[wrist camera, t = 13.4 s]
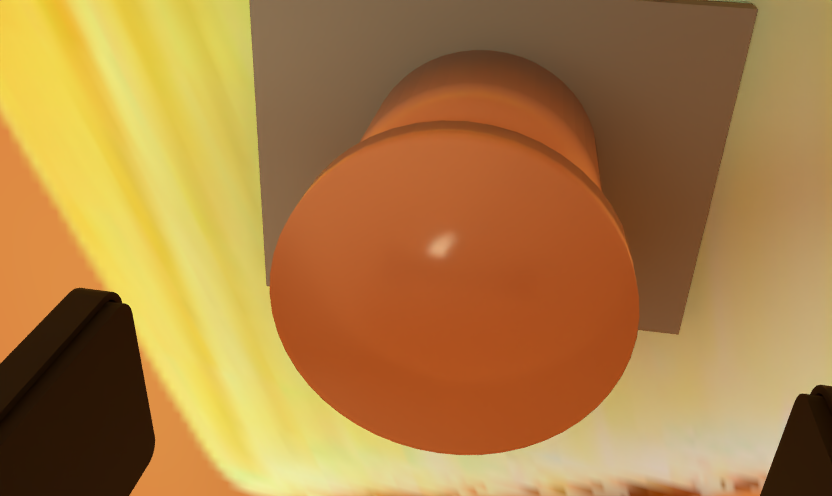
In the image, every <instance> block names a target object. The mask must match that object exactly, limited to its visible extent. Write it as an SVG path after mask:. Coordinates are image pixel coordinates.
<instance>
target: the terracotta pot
mask: <svg viewBox="0 0 832 496" xmlns="http://www.w3.org/2000/svg"><path fill="white" fill-rule="evenodd" d="M270 299H271V307H272V314H273V317H274V321H275V324H276V328H277V332H278V334H279V337H280V339H281V341H282V344H283V346H284V348H285V350H286V352H287V354H288V356H289V357H290V359H291V361H292V362H293V364H294V366H295V367H296V369H297V370H298V372H299V373H300V374H301V375H302V377H303V378H304V379H305V381H306V382H307V383H308V385H309V386H310V387H311V388H312V389H313V390H314V391H315V392H316V393H317V394H318V395H319V396H320V397H321V398H322V399H323V400H324V401H325V402H327V403H328V404H329V405H330V406H331V407H333V408H334V409H335V410H336V411H338V412H339V413H340V414H342V415H343V416H345V417H346V418H348V419H349V420H351V421H352V422H354V423H355V424H357V425H359V426H361V427H362V428H364V429H366V430H368V431H370V432H372V433H374V434H376V435H378V436H381V437H383V438H386V439H388V440H391V441H393V442H396V443H399V444H402V445H406V446H409V447H412V448H416V449H420V450H426V451H431V452H436V453H445V454H456V455H483V454H492V453H501V452H506V451H511V450H515V449H520V448H524V447H527V446H530V445H533V444H536V443H539V442H542V441H545V440H547V439H549V438H551V437H553V436H555V435H557V434H560V433H562V432H564V431H565V430H567V429H568V428H570V427H572V426H573V425H575V424H576V423H578V422H579V421H581V420H582V419H583V418H585V417H586V416H587V415H588V414H589V413H591V412H592V411H593V410H594V409H595V408H597V407H598V405H599V404H600V403H601V402H602V401H603V400H604V399H605V398H606V397H607V396H608V395H609V393H610V392H611V391H612V389H613V388H614V386H615V385H616V384H617V382H618V381H619V379H620V378H621V376H622V374H623V372H624V370H625V368H626V366H627V364H628V362H629V360H630V358H631V355H632V351H633V348H634V345H635V341H636V338H637V331H638V323H639V294H638V288H637V282H636V276H635V271H634V265H633V260H632V254H631V249H630V245H629V242H628V239H627V237H626V234H625V231H624V228H623V225H622V224H621V222H620V220H619V218H618V216H617V214H616V212H615V210H614V209H613V207H612V205H611V204H610V202H609V201H608V200H607V198H606V197H605V196H604V194H603V193H602V185H601V177H600V168H599V160H598V152H597V145H596V140H595V135H594V131H593V128H592V125H591V122H590V120H589V117H588V115H587V114H586V112H585V110H584V108H583V106H582V104H581V103H580V102H579V100H578V99H577V97H576V96H575V95H574V93H573V92H572V91H571V90H570V89H569V88H568V87H567V86H566V85H565V84H564V83H563V81H561V80H560V79H559V78H558V77H556V76H555V75H554V74H553V73H551V72H550V71H548V70H547V69H545V68H543V67H542V66H540V65H538V64H537V63H534V62H532V61H530V60H527V59H525V58H523V57H520V56H516V55H513V54H509V53H505V52H498V51H492V50H470V51H461V52H456V53H452V54H448V55H444V56H441V57H438V58H436V59H433V60H431V61H428V62H427V63H425V64H423V65H421V66H420V67H418V68H416V69H415V70H413V71H412V72H411V73H409V74H408V75H407V76H405V77H404V78H403V79H402V80H401V81H400V82H399V83H398V84H397V85H396V86H395V87H394V88H393V89H392V90H391V92H390V93H389V94H388V96H387V97H386V98H385V100H384V101H383V103H382V105H381V106H380V108H379V110H378V111H377V113H376V115H375V117H374V118H373V120H372V122H371V123H370V125H369V127H368V128H367V130H366V132H365V134H364V135H363V137H362V139H361V140H360V142H359V143H358V144H356V145H354V146H352V147H351V148H349V149H348V150H347V151H345V152H344V153H342V154H341V155H340V156H338V157H337V158H336V159H334V160H333V161H332V162H331V163H330V164H329V165H328V166H327V167H326V168H325V169H324V170H323V171H322V172H321V173H320V174H319V175H318V176H317V177H316V179H315V180H314V181H313V183H312V184H311V185H310V187H309V188H308V189H307V191H306V192H305V194H304V195H303V197H302V198H301V200H300V201H299V203H298V204H297V206H296V207H295V209H294V210H293V212H292V213H291V215H290V217H289V219H288V220H287V222H286V224H285V226H284V228H283V230H282V232H281V234H280V236H279V239H278V242H277V245H276V248H275V251H274V254H273V260H272V266H271V272H270Z"/></svg>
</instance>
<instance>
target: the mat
mask: <svg viewBox="0 0 832 496" xmlns="http://www.w3.org/2000/svg"><path fill="white" fill-rule="evenodd" d="M757 12H758V9H757V8H756V7H755V6H754V5H753V4H750V3H736V2H722V1H708V0H250V17H251V34H252V50H253V67H254V84H255V100H256V117H257V134H258V150H259V167H260V184H261V200H262V217H263V234H264V250H265V267H266V284H267V286H270V272H271V266H272V260H273V254H274V251H275V248H276V245H277V242H278V239H279V236H280V234H281V232H282V230H283V228H284V226H285V224H286V222H287V220H288V219H289V217H290V215H291V213H292V212H293V210H294V209H295V207H296V206H297V204H298V203H299V201H300V200H301V198H302V197H303V195H304V194H305V192H306V191H307V189H308V188H309V187H310V185H311V184H312V183H313V181H314V180H315V179H316V177H317V176H318V175H319V174H320V173H321V172H322V171H323V170H324V169H325V168H326V167H327V166H328V165H329V164H330V163H331V162H332V161H333V160H334V159H336V158H337V157H338V156H340V155H341V154H342V153H344V152H345V151H347V150H348V149H349V148H351V147H352V146H354V145H356V144H358V143H359V142H360V140H361V139H362V137H363V135H364V134H365V132H366V130H367V128H368V127H369V125H370V123H371V122H372V120H373V118H374V117H375V115H376V113H377V111H378V110H379V108H380V106H381V105H382V103H383V101H384V100H385V98H386V97H387V96H388V94H389V93H390V92H391V90H392V89H393V88H394V87H395V86H396V85H397V84H398V83H399V82H400V81H401V80H402V79H403V78H404V77H405V76H407V75H408V74H409V73H411V72H412V71H413V70H415V69H416V68H418V67H420V66H421V65H423V64H425V63H427V62H428V61H431V60H433V59H436V58H438V57H441V56H444V55H448V54H452V53H456V52H461V51H470V50H492V51H498V52H505V53H509V54H513V55H516V56H520V57H523V58H525V59H527V60H530V61H532V62H534V63H537V64H538V65H540V66H542V67H543V68H545V69H547V70H548V71H550V72H551V73H553V74H554V75H555V76H556V77H558V78H559V79H560V80H561V81H563V83H564V84H565V85H566V86H567V87H568V88H569V89H570V90H571V91H572V92H573V93H574V95H575V96H576V97H577V99H578V100H579V102H580V103H581V104H582V106H583V108H584V110H585V112H586V114H587V115H588V117H589V120H590V122H591V125H592V128H593V131H594V135H595V140H596V145H597V152H598V160H599V168H600V177H601V185H602V193H603V194H604V196H605V197H606V198H607V200H608V201H609V202H610V204H611V205H612V207H613V209H614V210H615V212H616V214H617V216H618V218H619V220H620V222H621V224H622V225H623V228H624V231H625V234H626V237H627V239H628V242H629V245H630V249H631V254H632V260H633V265H634V271H635V276H636V282H637V288H638V294H639V323H638V330H645V331H653V332H661V333H670V334H679V330H680V326H681V322H682V318H683V314H684V309H685V305H686V301H687V297H688V293H689V289H690V285H691V281H692V277H693V273H694V269H695V265H696V261H697V256H698V252H699V248H700V244H701V240H702V236H703V232H704V228H705V224H706V220H707V216H708V212H709V208H710V203H711V199H712V195H713V191H714V187H715V183H716V179H717V175H718V171H719V167H720V163H721V159H722V155H723V150H724V146H725V142H726V138H727V134H728V130H729V126H730V122H731V118H732V114H733V110H734V106H735V101H736V97H737V93H738V89H739V85H740V81H741V77H742V73H743V69H744V65H745V61H746V57H747V53H748V48H749V44H750V40H751V36H752V32H753V28H754V24H755V20H756V16H757Z"/></svg>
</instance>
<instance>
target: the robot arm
mask: <svg viewBox="0 0 832 496" xmlns="http://www.w3.org/2000/svg"><path fill="white" fill-rule="evenodd" d="M154 447H155V435H154V430H153V425H152V419H151V413H150V408H149V403H148V397H147V392H146V386H145V380H144V375H143V369H142V364H141V359H140V353H139V347H138V342H137V336H136V331H135V325H134V320H133V314H132V311H131V308H130V306H129V305H127V304H123V303H122V301H121V298H120V297H119V295H118V294H116V293H114V292H108V291H100V290H93V289H85V288H76V289H74V290H72V291H71V292H70V293H69V294H68V295H67V296H66V297H65V298H64V299H63V300H62V301H61V302H60V303H59V304H58V305H57V306H56V307H55V308H54V309H53V310H52V311H51V312H50V313H49V314H48V315H47V316H46V317H45V318H44V320H43V321H42V322H41V323H39V325H38V326H37V327H36V328H35V329H34V330H33V331H32V332H31V333H30V334H29V335H28V336H27V337H26V338H25V339H24V340H23V341H22V342H21V343H20V344H19V345H18V346H17V347H16V348H15V349H14V350H13V351H12V352H11V353H10V354H9V356H7V358H6V359H5V360H4V361H3V362H2V363H1V364H0V496H129V495H130V493H131V492H132V490H133V489H134V487H135V485H136V484H137V482H138V480H139V479H140V477H141V476H142V473H143V472H144V471H145V469H146V467H147V466H148V464H149V462H150V460H151V458H152V455H153V451H154ZM760 496H832V386H825V385H817V386H816V387H815V388H814V389H813V390H812V392H811V394H810V395H809V394H799V396H798V397H797V398H796V400H795V402H794V405H793V408H792V411H791V413H790V416H789V419H788V421H787V424H786V427H785V429H784V432H783V435H782V438H781V440H780V443H779V446H778V448H777V451H776V454H775V457H774V459H773V462H772V465H771V467H770V470H769V473H768V475H767V478H766V481H765V484H764V486H763V489H762V492H761V494H760Z"/></svg>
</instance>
